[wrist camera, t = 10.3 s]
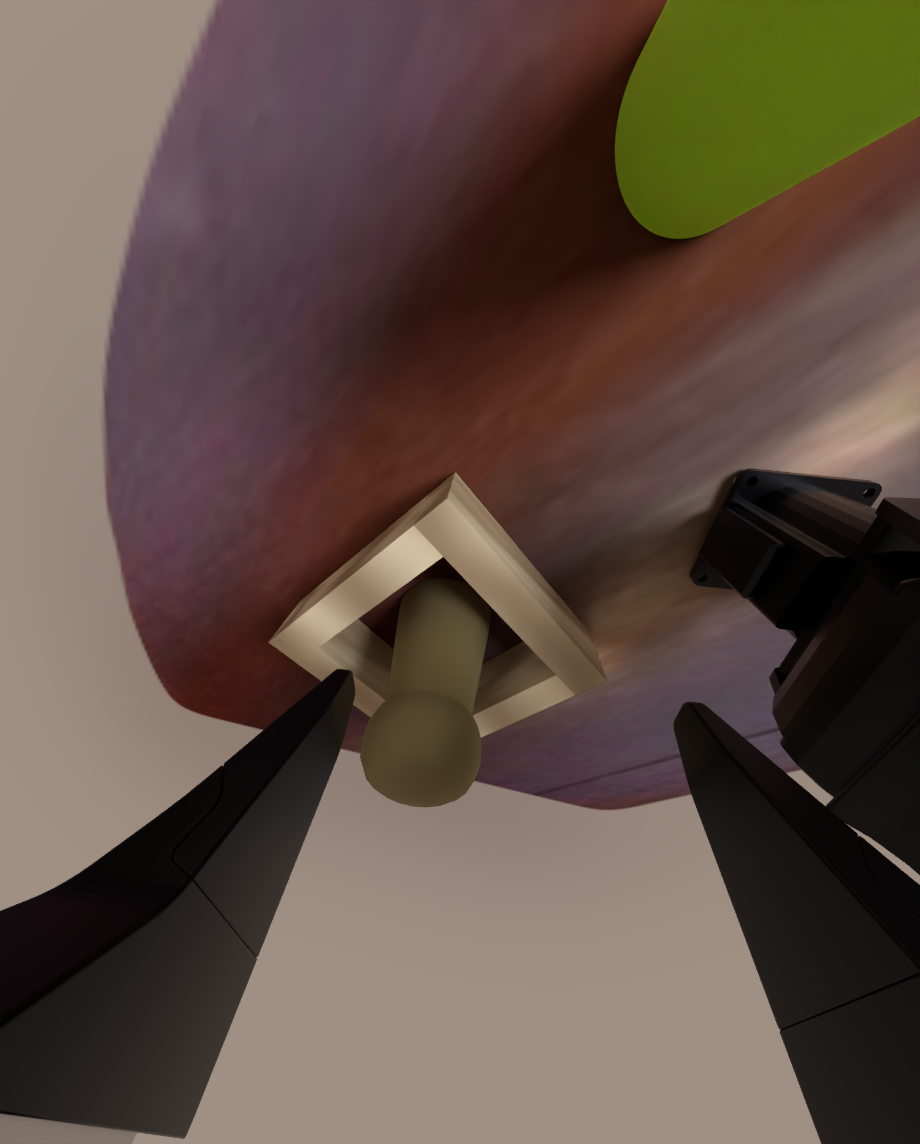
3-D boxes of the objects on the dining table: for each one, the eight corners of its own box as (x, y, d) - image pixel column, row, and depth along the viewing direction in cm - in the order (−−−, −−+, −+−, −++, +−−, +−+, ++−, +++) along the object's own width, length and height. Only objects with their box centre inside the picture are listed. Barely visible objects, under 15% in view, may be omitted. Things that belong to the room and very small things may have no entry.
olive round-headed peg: (466, 662, 26) (451, 840, 16) (386, 630, 25) (322, 800, 15) (508, 601, 23) (520, 776, 13) (419, 562, 22) (366, 721, 12)
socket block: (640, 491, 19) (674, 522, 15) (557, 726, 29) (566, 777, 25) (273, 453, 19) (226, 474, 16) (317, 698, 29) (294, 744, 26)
